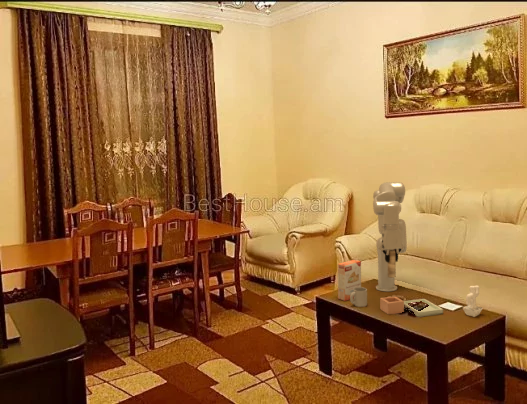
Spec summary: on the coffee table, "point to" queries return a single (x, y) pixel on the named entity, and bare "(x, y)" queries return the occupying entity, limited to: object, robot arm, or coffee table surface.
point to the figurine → (472, 302)
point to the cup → (359, 297)
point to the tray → (427, 311)
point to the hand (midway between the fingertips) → (391, 261)
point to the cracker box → (348, 278)
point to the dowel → (392, 264)
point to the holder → (391, 305)
